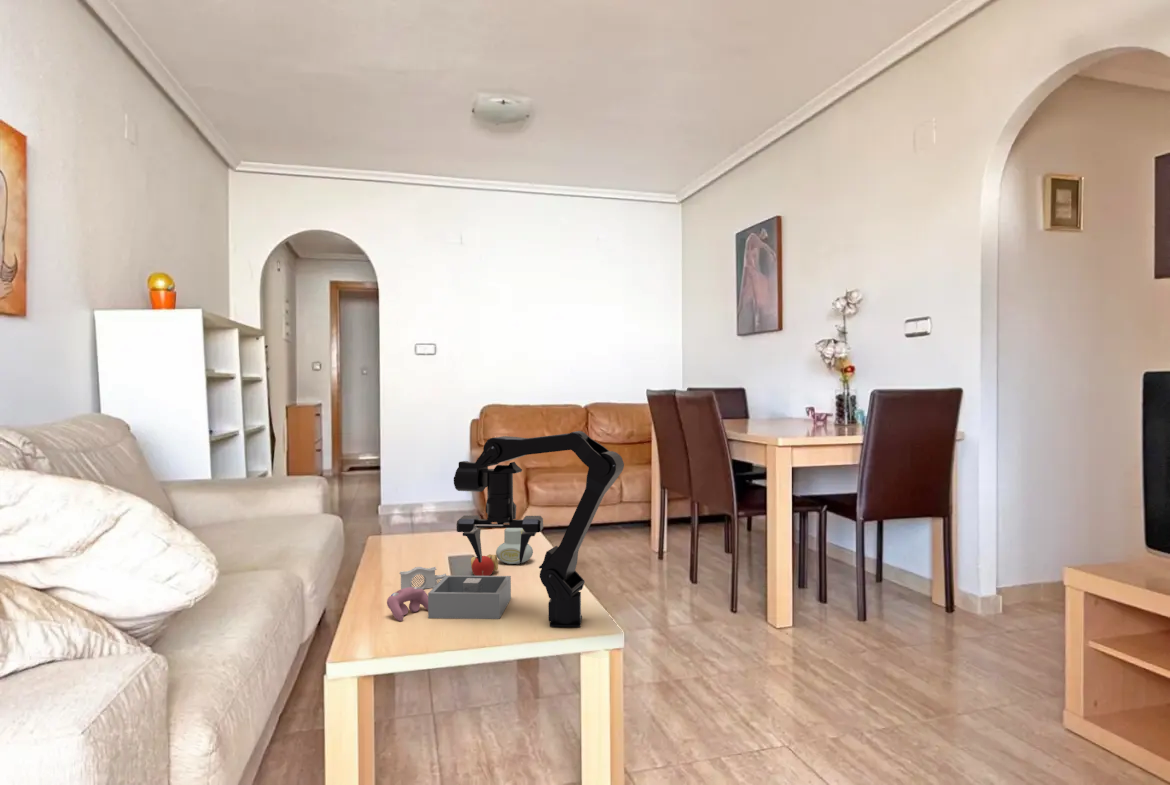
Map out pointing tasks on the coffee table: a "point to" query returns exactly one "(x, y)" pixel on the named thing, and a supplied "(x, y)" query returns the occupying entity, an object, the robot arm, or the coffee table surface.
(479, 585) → the grey stepped block
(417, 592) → the video game controller
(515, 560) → the air freshener
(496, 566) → the kendama
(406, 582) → the garden wall model
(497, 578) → the open box
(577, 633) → the coffee table surface
